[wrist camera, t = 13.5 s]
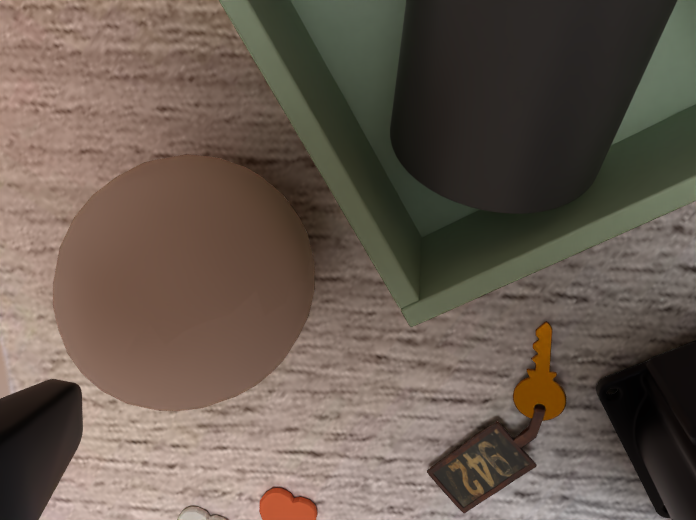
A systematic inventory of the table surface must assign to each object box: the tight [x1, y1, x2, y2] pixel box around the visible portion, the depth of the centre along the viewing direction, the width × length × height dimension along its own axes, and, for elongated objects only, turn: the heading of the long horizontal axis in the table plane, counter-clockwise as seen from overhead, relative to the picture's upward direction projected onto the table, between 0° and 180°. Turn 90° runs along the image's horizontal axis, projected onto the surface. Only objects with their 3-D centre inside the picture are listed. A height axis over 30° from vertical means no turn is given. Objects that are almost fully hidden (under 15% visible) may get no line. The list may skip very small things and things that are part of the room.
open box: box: [219, 0, 696, 327], centre depth 16 cm, size 11×11×6 cm
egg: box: [53, 154, 315, 411], centre depth 18 cm, size 7×7×8 cm
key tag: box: [427, 321, 566, 513], centre depth 23 cm, size 8×3×1 cm, turn 151°
